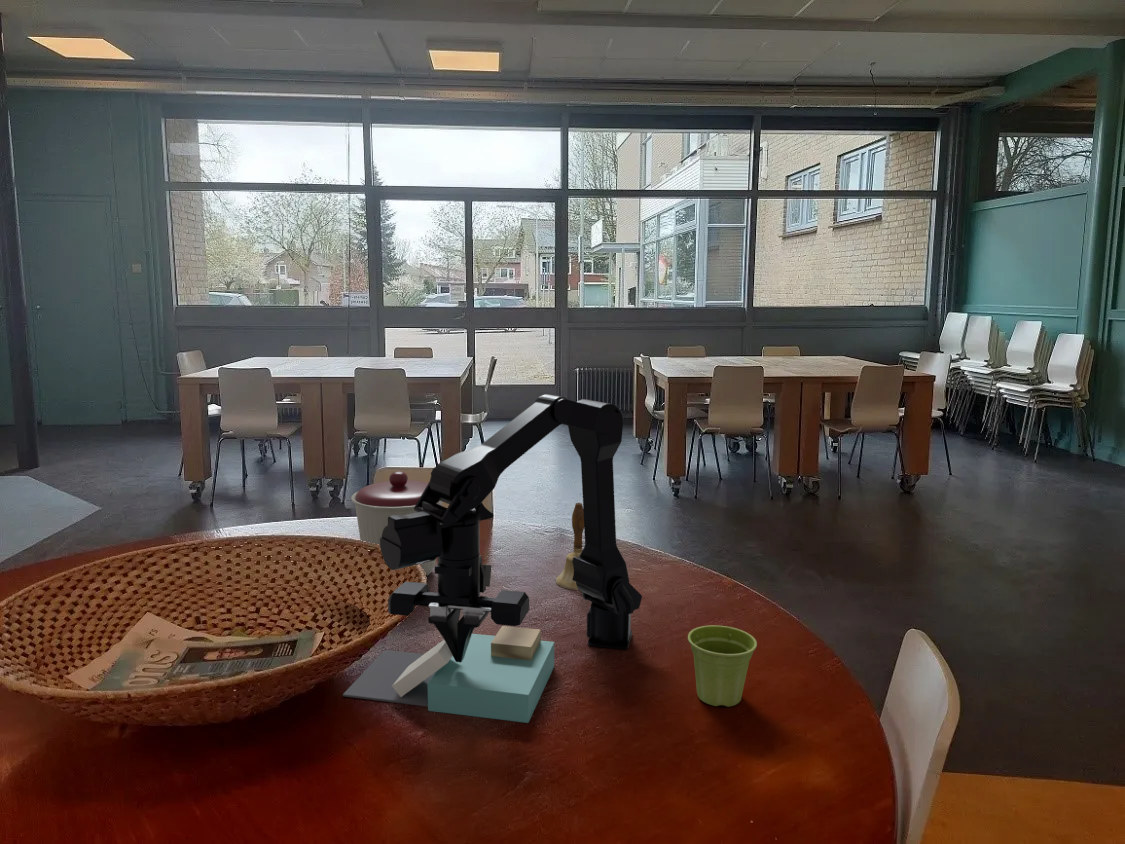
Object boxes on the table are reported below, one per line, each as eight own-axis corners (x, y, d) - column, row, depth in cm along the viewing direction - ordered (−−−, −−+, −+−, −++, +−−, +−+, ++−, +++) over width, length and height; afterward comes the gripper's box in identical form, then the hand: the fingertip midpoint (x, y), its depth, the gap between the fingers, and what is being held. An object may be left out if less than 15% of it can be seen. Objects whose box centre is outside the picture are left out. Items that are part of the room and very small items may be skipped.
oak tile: (540, 642, 118) (540, 629, 118) (531, 660, 112) (531, 647, 112) (502, 638, 119) (502, 625, 119) (490, 655, 113) (490, 643, 113)
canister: (335, 584, 151) (330, 477, 147) (387, 555, 168) (384, 458, 164) (417, 597, 145) (414, 486, 141) (462, 565, 161) (461, 466, 158)
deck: (554, 666, 119) (554, 641, 118) (528, 722, 103) (528, 694, 103) (466, 657, 121) (465, 633, 121) (428, 710, 106) (427, 683, 105)
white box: (461, 643, 112) (452, 632, 112) (447, 663, 106) (438, 651, 106) (417, 676, 115) (408, 665, 115) (400, 697, 109) (391, 686, 109)
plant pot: (710, 673, 117) (713, 619, 115) (766, 697, 110) (769, 639, 109) (672, 695, 110) (674, 638, 109) (728, 722, 104) (731, 661, 102)
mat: (463, 660, 120) (463, 658, 120) (430, 706, 107) (430, 704, 107) (385, 651, 123) (385, 649, 123) (342, 696, 110) (342, 694, 109)
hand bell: (606, 580, 154) (607, 501, 152) (584, 593, 147) (585, 511, 145) (570, 571, 159) (571, 495, 156) (547, 584, 152) (548, 504, 149)
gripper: (538, 540, 113) (537, 642, 115) (416, 531, 116) (418, 630, 119) (519, 566, 102) (519, 678, 104) (385, 555, 105) (387, 664, 108)
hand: (459, 660), depth 109 cm, fingers closed
